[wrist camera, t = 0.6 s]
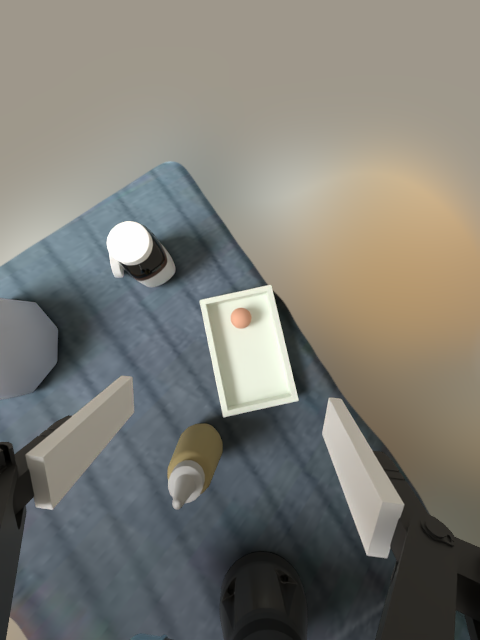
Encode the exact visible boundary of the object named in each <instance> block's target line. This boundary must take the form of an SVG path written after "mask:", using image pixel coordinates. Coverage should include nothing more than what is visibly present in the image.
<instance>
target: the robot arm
mask: <svg viewBox="0 0 480 640" xmlns="http://www.w3.org/2000/svg"><path fill="white" fill-rule="evenodd" d="M133 413H134V400H133V381H132V377H129V376H120V377H119V378H118V379H117V380H116V381H114V382H113V383H112V384H111V385H110V386H108V387H107V388H106V389H105V390H103V391H102V392H101V393H100V394H99V395H97V396H96V397H95V398H94V399H93V400H91V401H90V402H89V403H88V404H87V405H85V406H84V407H83V408H82V409H80V410H79V411H78V412H77V413H76V414H74V415H73V416H66V417H64V418H62V419H60V420H58V421H57V422H55V423H54V424H53V425H51V426H50V427H49V428H48V429H47V430H45V431H44V432H43V433H41V434H40V436H37V437H36V438H35V439H34V440H32V441H31V442H30V443H29V444H27V445H26V446H25V447H23V448H22V449H21V450H20V451H18V452H17V453H16V454H15V455H14V450H13V446H12V444H11V443H9V442H0V640H6V635H7V628H8V622H9V616H10V610H11V604H12V598H13V592H14V586H15V579H16V573H17V567H18V561H19V555H20V548H21V542H22V536H23V530H24V524H25V517H26V506H25V505H26V504H27V503H28V502H29V501H30V500H31V499H32V498H33V497H34V500H35V505H36V507H38V508H45V509H51V510H53V509H54V507H55V506H56V505H57V504H58V503H59V501H60V500H61V499H62V498H63V497H64V495H65V494H66V493H67V492H68V491H69V489H70V488H71V487H72V486H73V485H74V483H75V482H76V481H77V480H78V479H79V477H80V476H81V475H82V474H83V473H84V471H85V470H86V469H87V468H88V467H89V466H90V464H91V463H92V462H93V461H94V460H95V458H96V457H97V456H98V455H99V454H100V452H101V451H102V450H103V449H104V448H105V446H106V445H107V444H108V443H109V442H110V440H111V439H112V438H113V437H114V436H115V434H116V433H117V432H118V431H119V430H120V428H121V427H122V426H123V425H124V424H125V422H126V421H127V420H128V419H129V418H130V416H131V415H132V414H133ZM322 434H323V437H324V440H325V443H326V445H327V448H328V451H329V453H330V456H331V459H332V462H333V464H334V467H335V470H336V473H337V475H338V478H339V481H340V483H341V486H342V489H343V492H344V494H345V497H346V500H347V502H348V505H349V508H350V511H351V513H352V516H353V519H354V522H355V524H356V527H357V530H358V532H359V535H360V538H361V541H362V543H363V546H364V549H365V552H366V554H367V556H374V557H381V558H387V557H388V554H389V551H390V548H391V549H392V551H393V553H394V556H395V558H396V560H397V561H396V564H395V567H394V570H393V573H392V576H391V579H390V580H391V582H390V586H389V590H388V594H387V597H386V601H385V605H384V609H383V612H382V616H381V620H380V624H379V627H378V631H377V635H376V639H375V640H454V632H455V611H456V610H457V611H459V612H461V613H463V614H464V615H465V619H466V623H467V627H468V631H469V635H470V639H471V640H480V548H479V547H477V546H475V545H472V544H470V543H467V542H465V541H463V540H460V539H458V538H456V537H454V535H453V534H452V532H451V531H450V530H449V529H448V528H447V527H446V526H445V525H444V524H443V523H442V522H440V521H439V520H438V519H436V518H435V517H433V516H431V515H429V514H428V513H427V512H426V510H425V509H424V507H423V506H422V504H421V503H420V501H419V500H418V498H417V497H416V495H415V494H414V492H413V491H412V489H411V488H410V486H409V485H408V483H407V482H406V481H405V479H404V477H403V476H402V474H401V473H399V470H398V468H397V467H396V466H395V464H394V463H393V461H392V460H391V459H390V458H389V457H388V456H386V455H385V454H384V453H383V452H379V451H372V450H371V448H370V446H369V445H368V443H367V441H366V440H365V438H364V436H363V435H362V433H361V431H360V430H359V428H358V426H357V425H356V423H355V421H354V420H353V418H352V416H351V414H350V413H349V411H348V409H347V408H346V406H345V404H344V403H343V401H342V399H338V398H329V400H328V406H327V411H326V416H325V422H324V427H323V432H322ZM307 618H308V611H307V602H306V597H305V593H304V589H303V585H302V582H301V579H300V577H299V575H298V573H297V572H296V570H295V569H294V568H293V566H292V565H291V564H290V563H289V562H287V561H286V560H285V559H283V558H282V557H280V556H278V555H276V554H273V553H269V552H255V553H251V554H248V555H246V556H244V557H242V558H240V559H239V560H238V561H236V562H235V563H234V564H233V565H232V566H231V568H230V569H229V571H228V572H227V574H226V576H225V578H224V581H223V584H222V588H221V596H220V621H221V626H222V632H223V637H224V640H307ZM130 640H172V639H168V636H167V635H162V636H161V637H160V636H154V635H148V634H137V635H135V636H133V637H132V638H131V639H130Z"/></svg>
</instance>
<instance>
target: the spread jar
mask: <svg viewBox="0 0 480 640" xmlns="http://www.w3.org/2000/svg"><path fill="white" fill-rule="evenodd" d="M107 248H108V251H109V257H110V263H111V268H112V271H113V274H114V276H115V278H120V277H124V269H125V270H126V271H127V272H128V273H129V274H130V275H131V276H132V277H133V278H134V279H136V280H137V281H138V282H140V283H142V284H144V285H145V286H147V287H157V286H159V285H161V284H163V283H165V282H166V281H168V280H169V279H170V278H171V277H172V276H173V275H174V273H175V264H174V262H173V260H172V258H171V256H170V254H169V253H168V251H167V250H166V249H165V247H164V246H163V245H162V244H161V243H160V241H159V240H158V239H157V238H156V236H155V235H154V234H153V233H152V232H151V231H150V230H149V229H148V228H147V227H146V226H144V225H142V224H139V223H136V222H132V221H127V222H122V223H120V224H118V225H116V226H115V227H114V228H113V229H112V230H111V231H110V233H109V235H108V238H107Z"/></svg>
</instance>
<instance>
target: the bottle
mask: <svg viewBox="0 0 480 640" xmlns="http://www.w3.org/2000/svg"><path fill="white" fill-rule="evenodd" d="M57 356H58V328H57V327H56V326H55V324H54V323H53V322H52V321H51V320H50V319H49V317H48V316H47V315H46V314H45V313H44V311H43V310H42V309H41V308H40V307H39V306H38V304H37V303H36V302H29V301H20V300H12V299H4V298H0V400H3V399H8V398H12V397H16V396H21V395H25V394H29V393H33V392H34V390H35V389H36V388H37V387H38V385H39V384H40V383H41V382H42V381H43V379H44V378H45V377H46V376H47V374H48V373H49V372H50V371H51V370H52V368H53V367H54V366H55V365H56V363H57Z"/></svg>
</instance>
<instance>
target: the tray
mask: <svg viewBox="0 0 480 640" xmlns="http://www.w3.org/2000/svg"><path fill="white" fill-rule="evenodd" d="M200 305H201V310H202V315H203V320H204V325H205V330H206V335H207V340H208V344H209V349H210V354H211V359H212V364H213V369H214V374H215V379H216V384H217V389H218V394H219V399H220V403H221V408H222V413H223V417H227V416H232V415H236V414H241V413H245V412H250V411H254V410H259V409H263V408H268V407H272V406H277V405H281V404H286V403H290V402H295V401H299V400H298V396H297V391H296V387H295V383H294V379H293V375H292V370H291V366H290V362H289V358H288V353H287V349H286V345H285V341H284V336H283V332H282V328H281V324H280V320H279V315H278V311H277V307H276V303H275V298H274V294H273V290H272V286H271V285H268V286H263V287H258V288H254V289H249V290H245V291H240V292H235V293H231V294H226V295H221V296H217V297H212V298H208V299H203V300H200ZM237 308H245V309H247V310H248V311H249V312H250V314H251V317H252V319H251V323H250V324H249V326H247V327H246V328H243V329H239V328H236V327H235V326H234V325H233V324H232V322H231V314H232V312H233V311H234V310H235V309H237Z"/></svg>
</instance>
